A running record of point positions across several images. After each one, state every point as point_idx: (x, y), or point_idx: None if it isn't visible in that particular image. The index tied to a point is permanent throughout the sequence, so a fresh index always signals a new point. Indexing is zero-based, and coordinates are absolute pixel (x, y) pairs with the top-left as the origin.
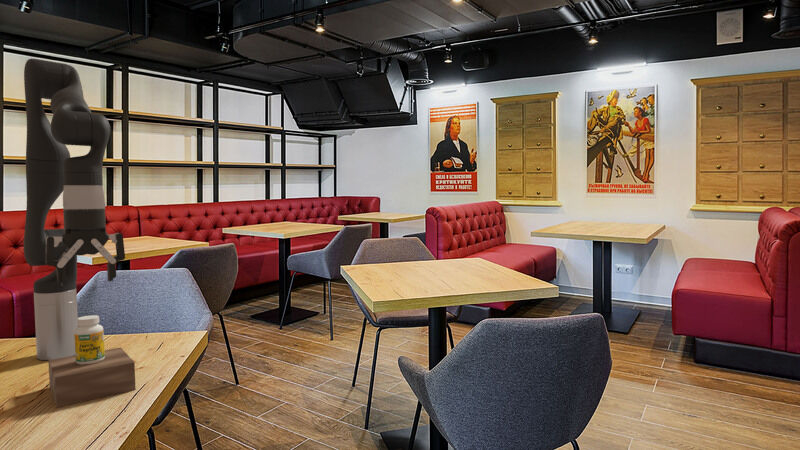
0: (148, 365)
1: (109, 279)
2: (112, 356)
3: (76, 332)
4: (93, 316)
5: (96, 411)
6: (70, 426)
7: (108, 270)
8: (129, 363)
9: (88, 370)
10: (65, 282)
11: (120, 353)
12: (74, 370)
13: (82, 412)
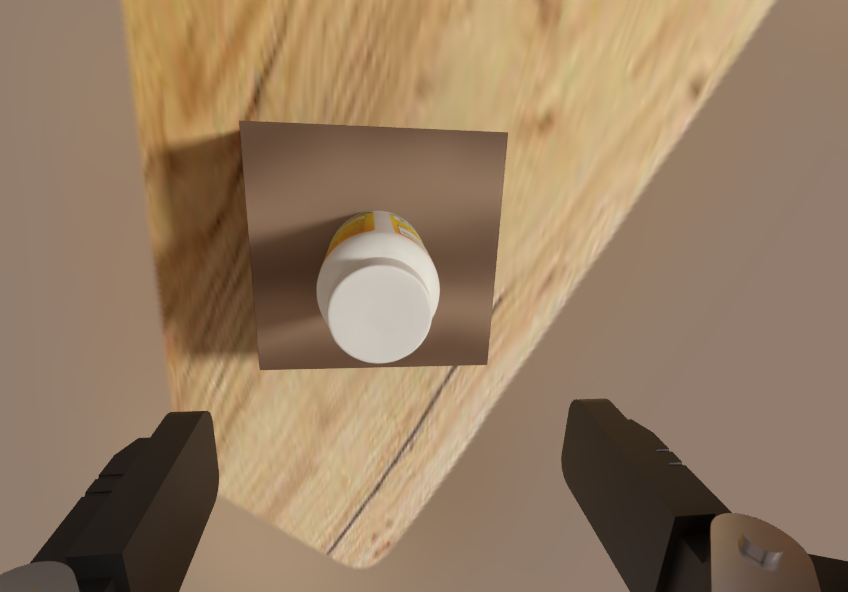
0: (571, 115)
1: (567, 481)
2: (450, 247)
3: (323, 316)
4: (407, 311)
5: (357, 413)
6: (299, 462)
7: (612, 522)
8: (472, 363)
9: (354, 360)
10: (204, 512)
11: (482, 227)
12: (317, 332)
13: (329, 400)
